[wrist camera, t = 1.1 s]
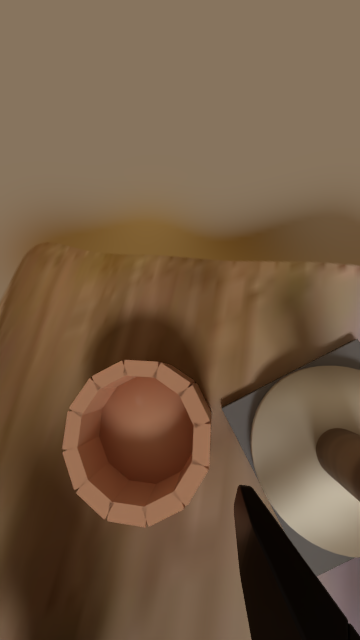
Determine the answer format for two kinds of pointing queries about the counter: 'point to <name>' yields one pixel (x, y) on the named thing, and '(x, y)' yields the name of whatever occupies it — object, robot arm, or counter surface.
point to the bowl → (138, 442)
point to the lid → (313, 454)
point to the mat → (241, 423)
